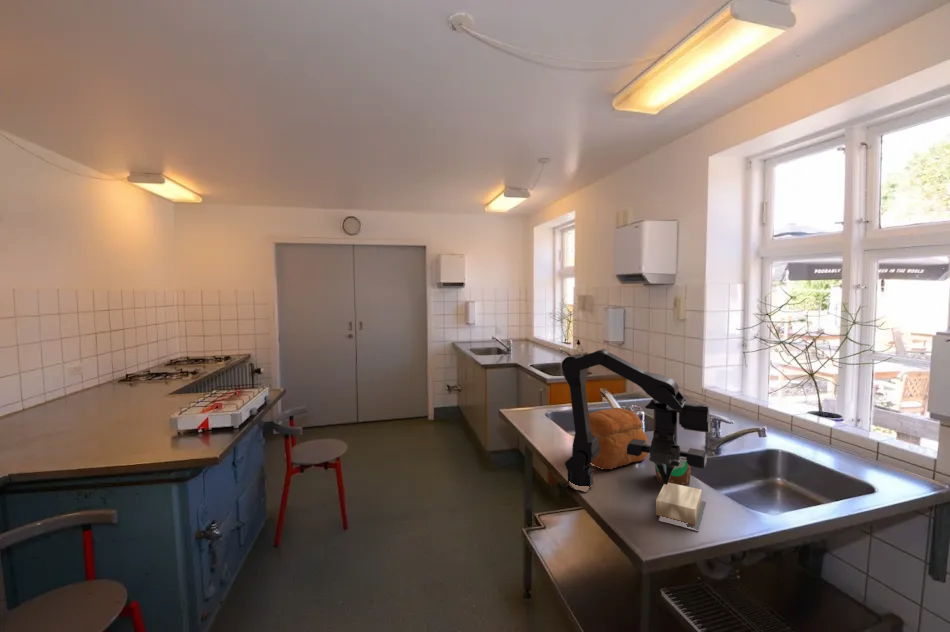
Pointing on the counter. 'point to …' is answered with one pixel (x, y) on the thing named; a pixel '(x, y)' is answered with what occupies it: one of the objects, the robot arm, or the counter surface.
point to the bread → (616, 436)
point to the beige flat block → (679, 503)
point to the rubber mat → (698, 517)
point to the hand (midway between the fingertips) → (665, 483)
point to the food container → (678, 474)
